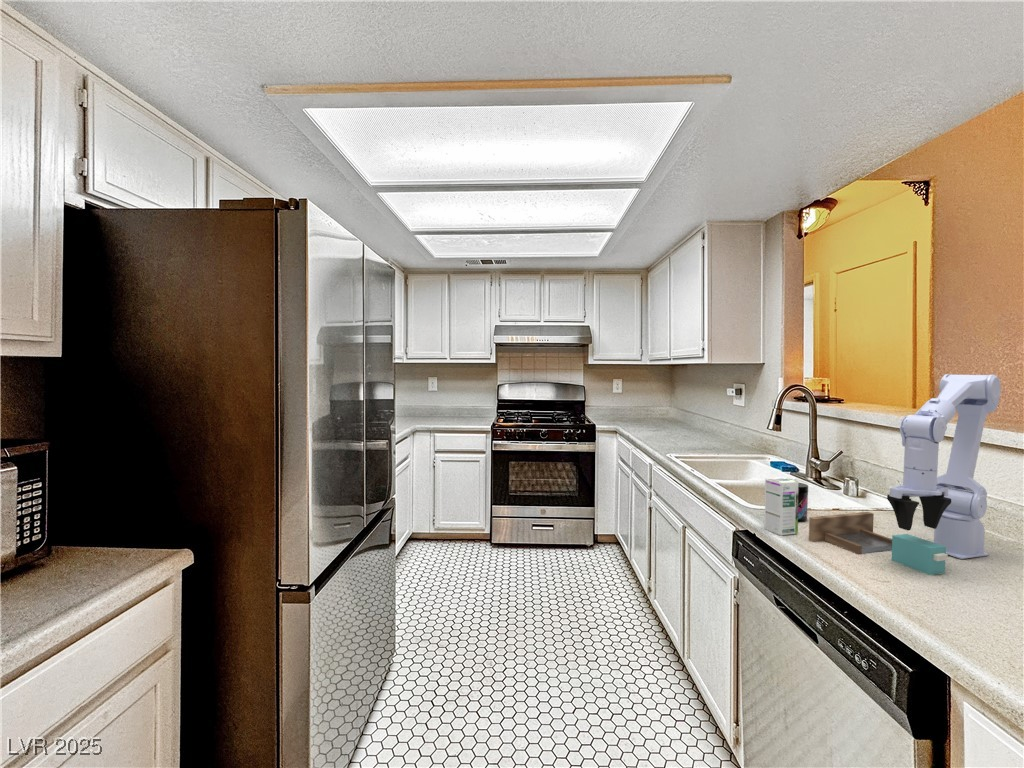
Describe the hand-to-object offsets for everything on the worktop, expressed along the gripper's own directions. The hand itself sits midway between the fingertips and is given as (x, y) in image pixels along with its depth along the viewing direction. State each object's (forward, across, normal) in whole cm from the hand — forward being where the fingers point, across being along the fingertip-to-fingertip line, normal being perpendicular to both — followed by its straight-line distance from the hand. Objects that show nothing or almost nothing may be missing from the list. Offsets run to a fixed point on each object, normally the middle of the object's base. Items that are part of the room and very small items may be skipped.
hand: (917, 528), depth 105 cm
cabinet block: (+9, +1, 0) cm, 9 cm away
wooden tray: (+9, 0, +13) cm, 16 cm away
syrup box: (+9, -12, +26) cm, 30 cm away
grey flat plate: (+9, 0, +13) cm, 16 cm away
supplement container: (+9, 0, +34) cm, 35 cm away
